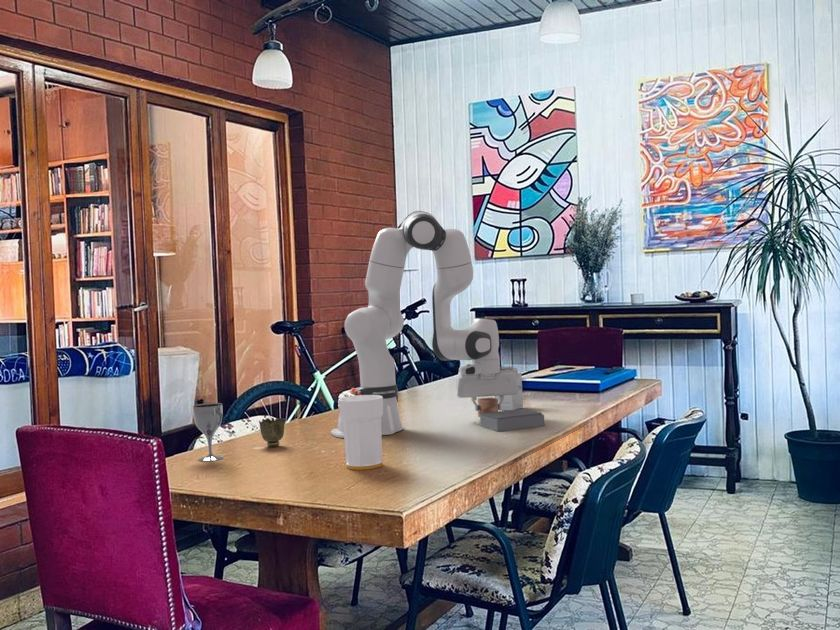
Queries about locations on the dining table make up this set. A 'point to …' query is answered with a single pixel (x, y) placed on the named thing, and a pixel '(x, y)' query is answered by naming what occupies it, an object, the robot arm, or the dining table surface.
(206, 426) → the wine glass
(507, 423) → the plinth
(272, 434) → the cup
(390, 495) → the dining table surface
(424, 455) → the dining table surface
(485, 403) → the terracotta block
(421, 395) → the dining table surface
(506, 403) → the supplement box
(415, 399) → the dining table surface
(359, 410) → the cup
